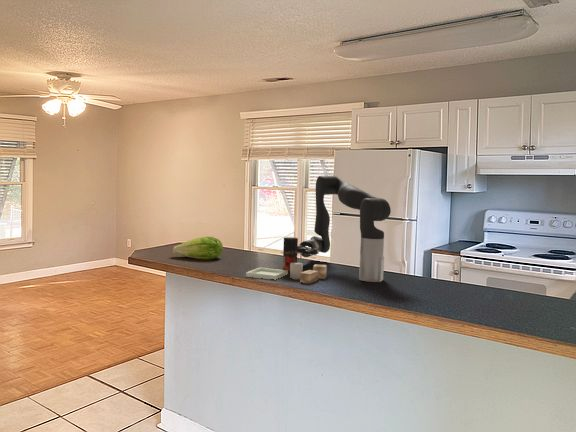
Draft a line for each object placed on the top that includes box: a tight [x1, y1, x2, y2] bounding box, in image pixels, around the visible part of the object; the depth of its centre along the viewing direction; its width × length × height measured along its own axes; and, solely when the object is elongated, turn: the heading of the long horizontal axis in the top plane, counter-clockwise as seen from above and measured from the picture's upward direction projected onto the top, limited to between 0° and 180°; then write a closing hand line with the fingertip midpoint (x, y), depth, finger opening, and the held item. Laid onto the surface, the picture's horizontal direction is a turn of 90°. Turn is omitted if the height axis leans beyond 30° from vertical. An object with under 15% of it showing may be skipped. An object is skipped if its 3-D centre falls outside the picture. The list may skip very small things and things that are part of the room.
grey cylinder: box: [289, 262, 304, 280], centre depth 195 cm, size 5×5×6 cm
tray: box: [245, 267, 289, 281], centre depth 198 cm, size 13×13×2 cm
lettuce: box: [172, 236, 224, 260], centre depth 238 cm, size 12×24×13 cm
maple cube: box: [312, 263, 328, 280], centre depth 199 cm, size 5×5×5 cm
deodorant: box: [282, 237, 299, 275], centre depth 205 cm, size 6×6×15 cm
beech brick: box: [299, 269, 319, 284], centre depth 190 cm, size 4×8×4 cm, turn 152°
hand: (296, 252), depth 212 cm, fingers open, 8 cm apart
